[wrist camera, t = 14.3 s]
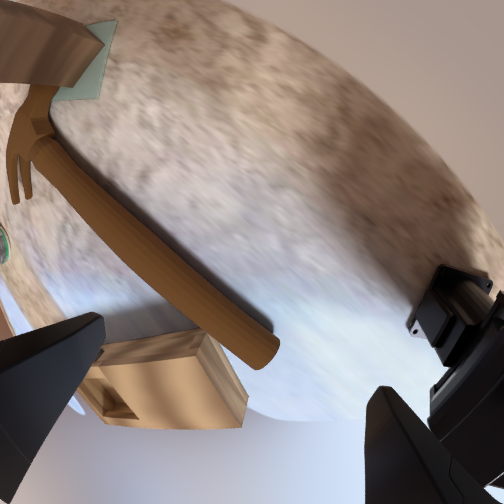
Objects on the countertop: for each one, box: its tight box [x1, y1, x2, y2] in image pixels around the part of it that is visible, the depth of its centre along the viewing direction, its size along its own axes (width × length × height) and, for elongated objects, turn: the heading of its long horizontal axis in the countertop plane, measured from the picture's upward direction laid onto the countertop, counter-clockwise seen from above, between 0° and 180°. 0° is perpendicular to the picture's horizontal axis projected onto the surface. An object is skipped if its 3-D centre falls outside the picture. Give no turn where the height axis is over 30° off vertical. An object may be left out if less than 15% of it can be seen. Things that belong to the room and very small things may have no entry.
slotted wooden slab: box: [77, 328, 249, 429], centre depth 25 cm, size 18×9×4 cm, turn 111°
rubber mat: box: [51, 20, 118, 102], centre depth 17 cm, size 9×7×1 cm
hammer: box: [6, 84, 280, 370], centre depth 20 cm, size 12×3×30 cm
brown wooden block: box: [0, 0, 105, 88], centre depth 11 cm, size 4×4×12 cm
